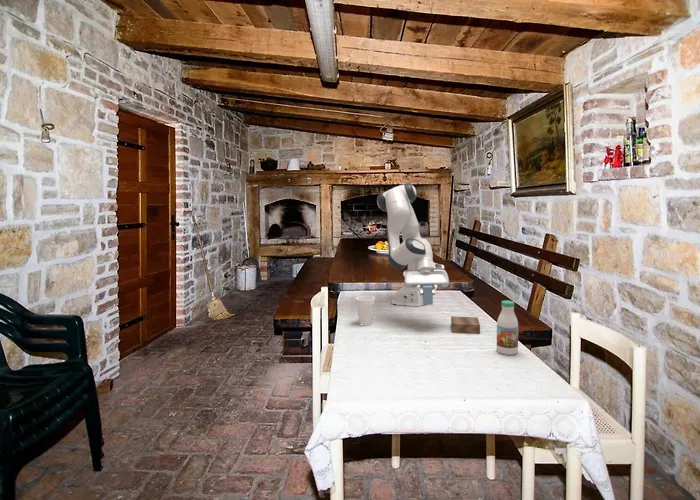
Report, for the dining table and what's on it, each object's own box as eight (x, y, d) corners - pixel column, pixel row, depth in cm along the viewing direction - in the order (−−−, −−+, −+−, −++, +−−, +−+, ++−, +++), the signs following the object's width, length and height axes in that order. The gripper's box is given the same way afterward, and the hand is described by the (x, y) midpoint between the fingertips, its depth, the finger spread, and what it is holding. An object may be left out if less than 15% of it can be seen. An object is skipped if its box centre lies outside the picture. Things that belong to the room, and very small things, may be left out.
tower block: (422, 302, 178) (422, 285, 177) (431, 302, 177) (431, 285, 176) (423, 304, 174) (423, 287, 173) (432, 304, 173) (432, 287, 172)
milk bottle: (492, 348, 153) (493, 299, 151) (511, 347, 154) (512, 298, 152) (502, 356, 146) (503, 304, 143) (521, 354, 146) (522, 303, 144)
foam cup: (377, 321, 193) (377, 296, 192) (372, 327, 185) (372, 300, 183) (359, 320, 196) (359, 295, 195) (353, 325, 188) (353, 299, 186)
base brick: (452, 332, 174) (452, 324, 173) (451, 324, 185) (451, 316, 185) (479, 333, 171) (480, 325, 170) (477, 325, 183) (477, 317, 182)
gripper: (403, 266, 181) (404, 291, 173) (447, 265, 180) (451, 290, 171) (402, 273, 186) (404, 298, 178) (445, 273, 185) (449, 297, 176)
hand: (427, 294), depth 174 cm, fingers closed on tower block, 4 cm apart
